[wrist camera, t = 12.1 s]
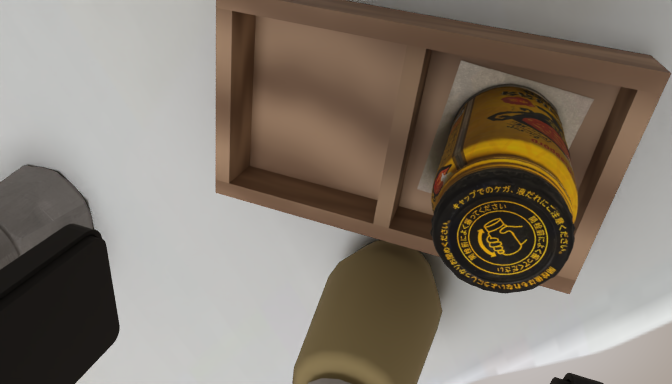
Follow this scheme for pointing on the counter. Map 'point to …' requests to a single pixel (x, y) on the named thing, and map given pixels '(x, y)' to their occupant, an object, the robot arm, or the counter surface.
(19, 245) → the coffeepot
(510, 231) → the condiment
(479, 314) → the counter surface
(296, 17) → the caddy
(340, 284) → the squeeze bottle
